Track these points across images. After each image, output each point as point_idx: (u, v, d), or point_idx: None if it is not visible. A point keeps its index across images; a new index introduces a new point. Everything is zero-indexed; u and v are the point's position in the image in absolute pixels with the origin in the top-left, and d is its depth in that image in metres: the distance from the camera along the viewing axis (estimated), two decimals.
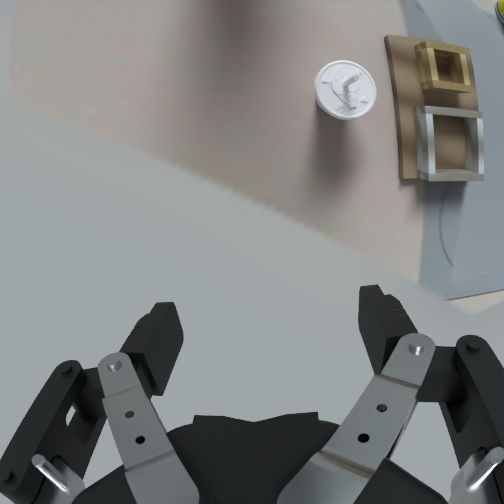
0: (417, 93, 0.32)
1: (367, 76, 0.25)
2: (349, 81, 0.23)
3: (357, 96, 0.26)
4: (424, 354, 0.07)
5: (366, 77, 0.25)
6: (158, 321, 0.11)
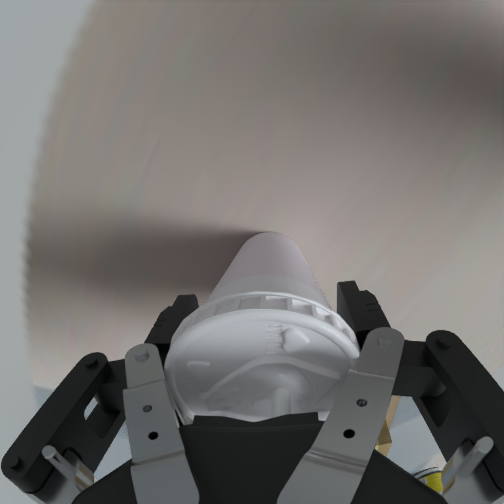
0: None
1: None
2: None
3: (243, 413, 0.09)
4: (392, 347, 0.08)
5: None
6: (183, 313, 0.12)
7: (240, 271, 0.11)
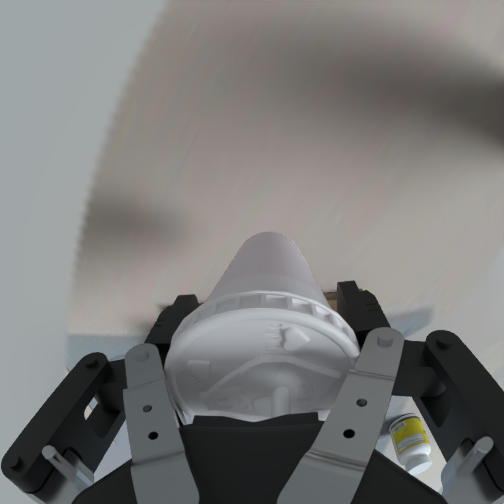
0: None
1: None
2: None
3: (243, 412, 0.09)
4: (392, 348, 0.08)
5: None
6: (183, 313, 0.12)
7: (240, 270, 0.11)
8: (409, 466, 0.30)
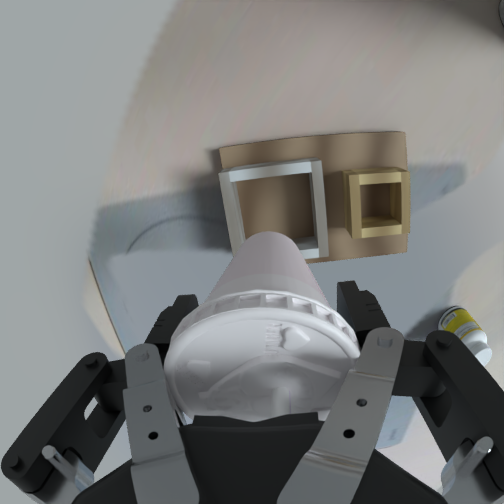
0: (335, 164, 0.30)
1: None
2: None
3: (242, 413, 0.09)
4: (392, 347, 0.08)
5: None
6: (183, 313, 0.12)
7: (239, 270, 0.11)
8: None
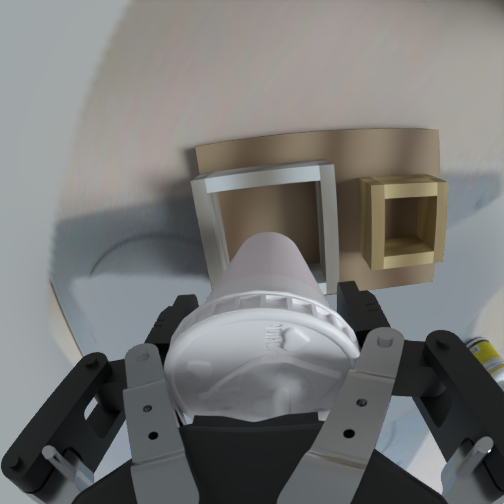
0: (350, 169, 0.22)
1: None
2: None
3: (242, 413, 0.09)
4: (391, 347, 0.08)
5: None
6: (183, 313, 0.12)
7: (239, 271, 0.11)
8: None
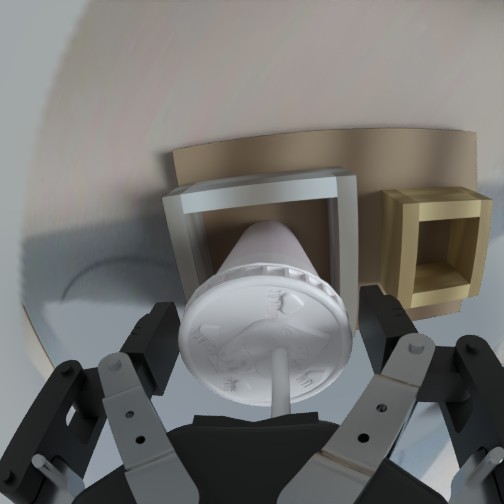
0: (371, 179, 0.17)
1: (305, 392, 0.11)
2: (275, 407, 0.08)
3: (246, 375, 0.11)
4: (424, 354, 0.07)
5: (302, 391, 0.11)
6: (158, 321, 0.11)
7: (243, 251, 0.13)
8: None
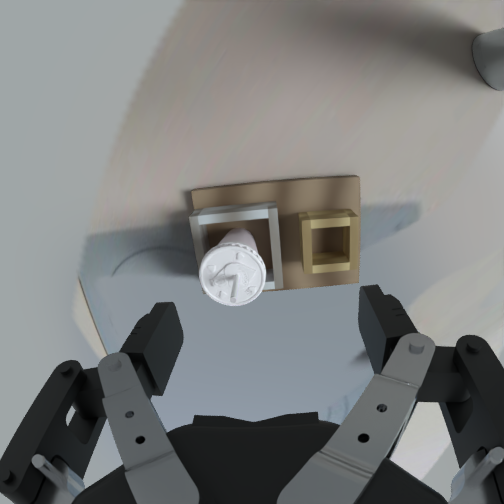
0: (292, 207, 0.36)
1: (249, 298, 0.29)
2: (233, 288, 0.26)
3: (225, 287, 0.29)
4: (424, 354, 0.07)
5: (248, 297, 0.29)
6: (158, 321, 0.11)
7: (225, 240, 0.31)
8: None
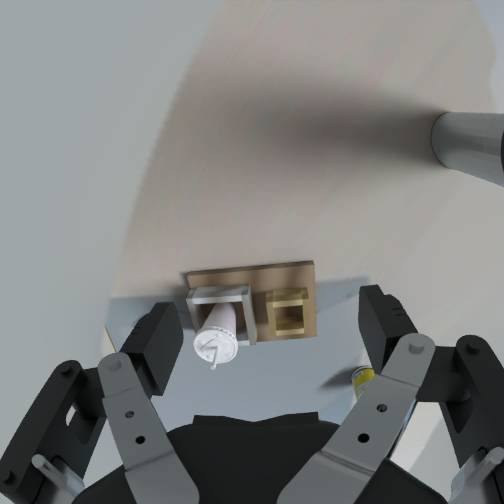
0: (262, 287, 0.48)
1: (227, 359, 0.42)
2: (213, 358, 0.39)
3: (210, 353, 0.42)
4: (424, 354, 0.07)
5: (226, 358, 0.42)
6: (158, 321, 0.11)
7: (211, 318, 0.44)
8: None
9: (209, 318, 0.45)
